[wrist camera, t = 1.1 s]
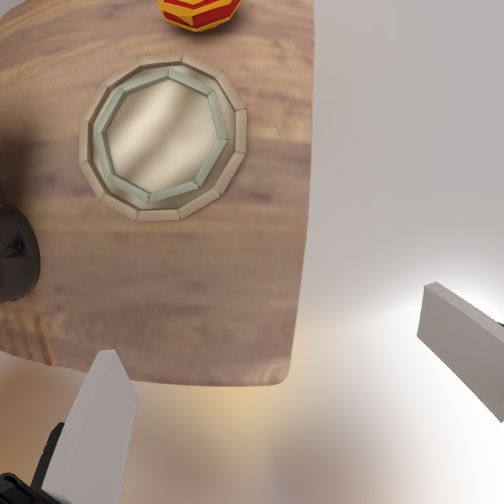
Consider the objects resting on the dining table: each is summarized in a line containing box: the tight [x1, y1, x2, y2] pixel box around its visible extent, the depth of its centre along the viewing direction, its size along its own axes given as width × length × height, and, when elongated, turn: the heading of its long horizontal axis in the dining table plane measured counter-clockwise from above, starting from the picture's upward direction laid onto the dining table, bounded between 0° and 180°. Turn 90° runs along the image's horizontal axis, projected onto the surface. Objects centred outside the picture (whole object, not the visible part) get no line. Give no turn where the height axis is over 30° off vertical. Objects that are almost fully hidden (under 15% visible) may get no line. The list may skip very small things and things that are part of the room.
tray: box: [79, 52, 247, 222], centre depth 29 cm, size 20×20×3 cm
